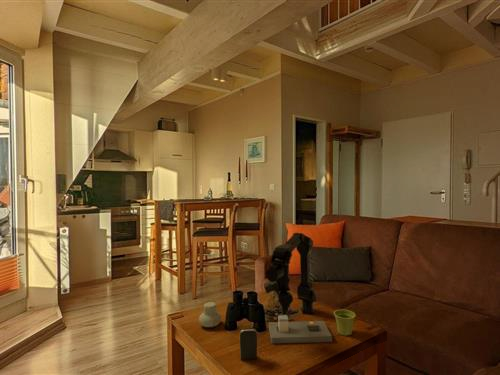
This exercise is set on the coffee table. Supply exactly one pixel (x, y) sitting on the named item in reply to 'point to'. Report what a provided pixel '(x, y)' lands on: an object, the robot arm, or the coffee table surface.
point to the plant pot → (344, 321)
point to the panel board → (300, 332)
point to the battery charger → (248, 343)
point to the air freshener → (210, 315)
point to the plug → (282, 323)
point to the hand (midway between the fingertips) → (282, 309)
